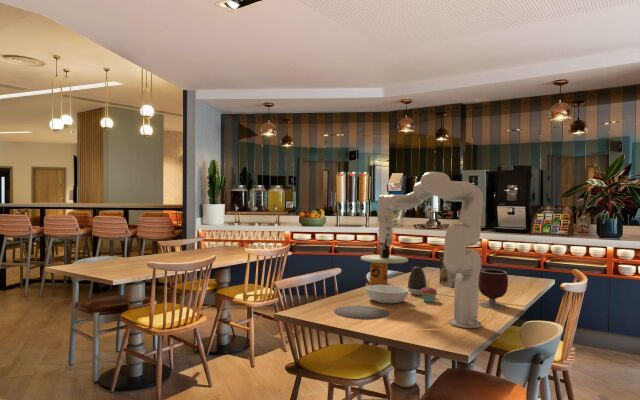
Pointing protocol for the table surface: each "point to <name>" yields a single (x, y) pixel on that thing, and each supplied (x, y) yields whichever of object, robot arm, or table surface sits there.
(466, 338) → the table surface
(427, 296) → the cupcake
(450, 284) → the coffee box
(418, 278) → the smart speaker
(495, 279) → the mate gourd
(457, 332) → the table surface
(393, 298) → the serving bowl
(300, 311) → the table surface
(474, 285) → the robot arm
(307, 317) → the table surface
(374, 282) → the coffee package
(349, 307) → the mat
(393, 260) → the lid
